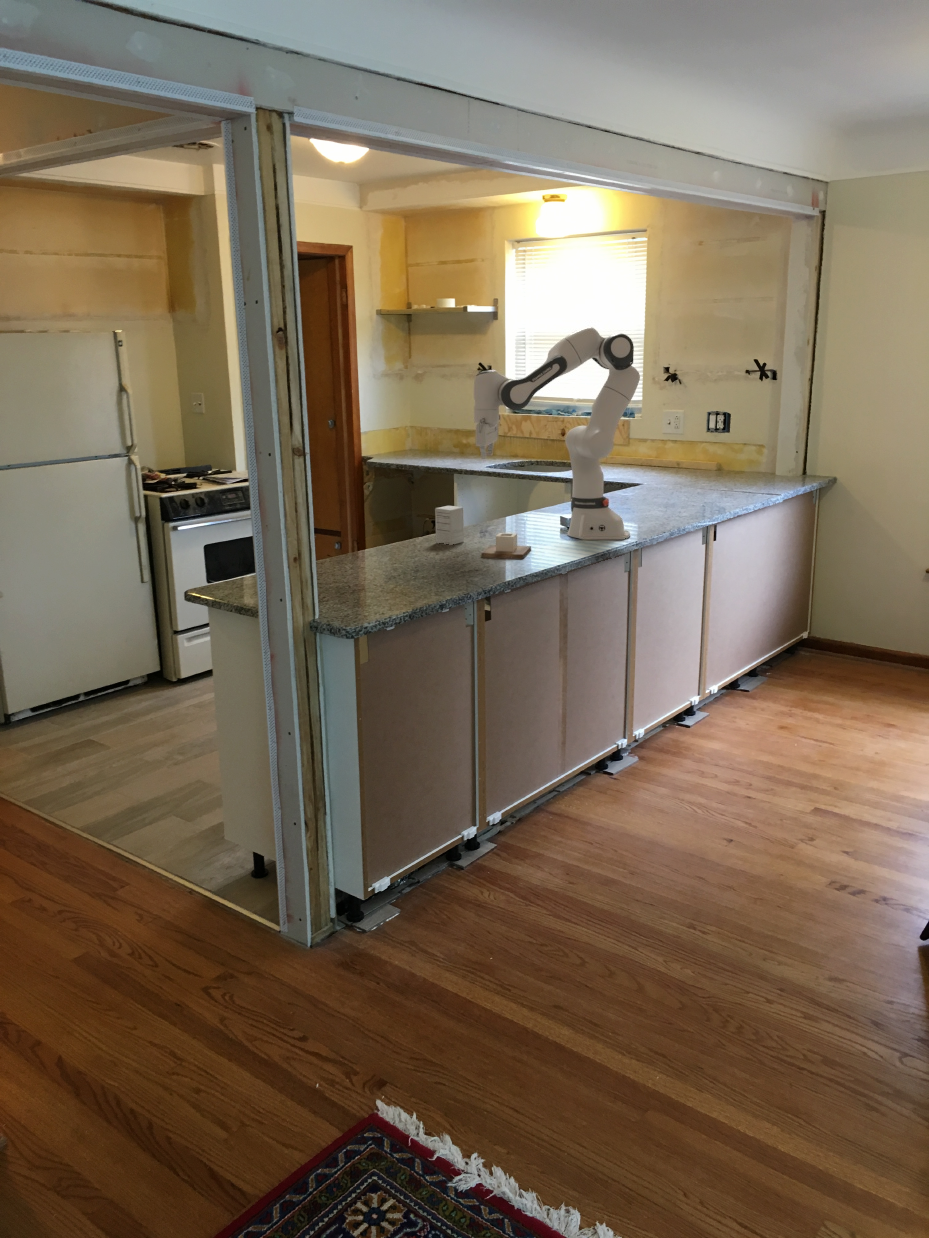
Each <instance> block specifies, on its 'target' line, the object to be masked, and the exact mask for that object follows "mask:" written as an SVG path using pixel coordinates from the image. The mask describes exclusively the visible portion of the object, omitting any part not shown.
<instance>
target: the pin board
mask: <svg viewBox="0 0 929 1238" xmlns="http://www.w3.org/2000/svg"><path fill="white" fill-rule="evenodd" d="M531 551H532V546H530V545H529V546H528V545H517V549H516V550H515V551H514V552H509V551H496V544H490V545H488V546H487V547H486V548H485V549H484V550H482V552H481V554H480V557H481V558H482V557H483V558H484V559H489V558H490V559H508V560H509V559H512V560H524V559H525V558H526V556H527V555H528V554H529V553H530V552H531ZM483 558H482V559H483Z"/></svg>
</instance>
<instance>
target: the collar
mask: <svg viewBox="0 0 929 1238" xmlns="http://www.w3.org/2000/svg"><path fill="white" fill-rule="evenodd" d="M495 545H496V551H509V552H514V551H515V550H516V549H517V546H518V533H513V532H510V533H509V532H499V533H498V534H496V535H495Z"/></svg>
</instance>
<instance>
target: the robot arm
mask: <svg viewBox="0 0 929 1238" xmlns="http://www.w3.org/2000/svg"><path fill="white" fill-rule="evenodd" d="M634 347H635V346H634V342H633V340H632V339H631V337H630V336H628V335H627V334H624V333H621V332H620V333H619V332H617V333H613V334H611V335H608V336H606V337H603V336H602V335H600V333H599V332H598V330H597V329H595V328H594V327H593V326H585V327H581V328H579V329H578V330H575V331H574V332H572V333H570V334H568V335H566V336H565V337H564V338H562V339H560V341H558V342H557V343H556V344H554V345H553V347H551V348H550V349H549V351H548V353H547V358H546V360H545V361H544V362H543V363H542V364H541V365H540V366H539V367H538V368H536V369H535V370H534V371H532V372H531V373H529V374H528V375H527V376H524V377H523V378H520V379H512V378H510V377H507V376H505V375H503V374H501V373H500V372H498V371H497V370H495V369H488V370H483V371H480V372H478V373H476V375H475V377H474V382H473V399H474V407H473V423H475V424H476V425H475V434H474V435H475V438H474V439H475V440H474V441H475V447H479V451H480V459H487V458H488V456H490V457H491V456H493V454H494V453H493V452H494V445H495V442H496V443H497V441H498V438H499V428H500V427H499V426H500V421H501V414H500V406H504V407H506V408H507V409H510V410H512V411H519V410H522V409H524V408H525V407H527V406H528V404H529V403H530V402H531V400H532V399H533V397H534V395H535V394H536V393H537V392H539V391H540V390H541V389H543V388H544V387H546V386H547V385H548V384H550V383H551V382H553V381H554V380H556V379H557V378H559V377H562V376H563V375H565V374H568V373H570V372H572V371H573V370H575V369H577V368H579V367H580V366H581V365H583V364H584V363H586V362H587V361H589V360H591V359H592V361H594V362H595V363H596V364H598V366H599V367H601V368H603V369H605V370H608V372H609V373H608V376H607V379H606V381H605V382H604V384H603V385H602V388H601V390H600V391H599V393H598V395H597V396H596V398H595V400H594V402H593V403H592V405H591V415H590V418H589V421H588V424H587V425H579V426H578V425H577V426H575V427H573V428H571V429H570V430H569V431H568V432H567V433H566V435H565V446H566V448H567V450H568V455H569V461H570V466H571V472H572V473H571V474H572V496H571V499H570V511H571V516H570V524H569V528H568V532H567V536H569V537H571V538H577V539H579V540H586V541H587V540H591V541H593V540H598V541H599V540H601V541H602V540H603V541H604V540H626V539H628V538H630V536H631V533H630V531H628V530H626V529H625V526H624V525H625V523H624V521H623V519H622V517H621V515H619V514H618V513H616V512H615V511H614V510H612V508H611V507H609V506H610V504H609V503H610V500H609V497H606V496H604V485H605V482H604V481H605V479H604V477H605V476H604V473H603V471H602V468H601V467H602V466H601V463H600V460H602V459H605V458H607V457H609V455H610V454H611V453H612V452H613V449H614V445H615V444H614V438H615V435H616V431H617V429H618V426H619V423H620V421H621V419H622V416H623V415H624V413H625V411H626V409H627V408H628V406H629V404H630V402H631V401H632V399H633V397H634V396H635V393H636V390H637V388H638V385H639V383H640V379H641V375H640V372H639V370H638V369H637V368H636V367H634V366H632V365H633V364H634V352H635V350H634V349H635V348H634ZM625 538H626V539H625Z"/></svg>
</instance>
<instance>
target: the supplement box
mask: <svg viewBox="0 0 929 1238" xmlns="http://www.w3.org/2000/svg"><path fill="white" fill-rule="evenodd" d="M434 513H435V514H434V515H435V543H436V544H439V543H444V544H443V545H446V544H449V546H453V544H454V545H456V544H460V543H464V542H465V534H464V533H465V530H464V507H463V506H454V505H445V506H441V507H435V508H434Z"/></svg>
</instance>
